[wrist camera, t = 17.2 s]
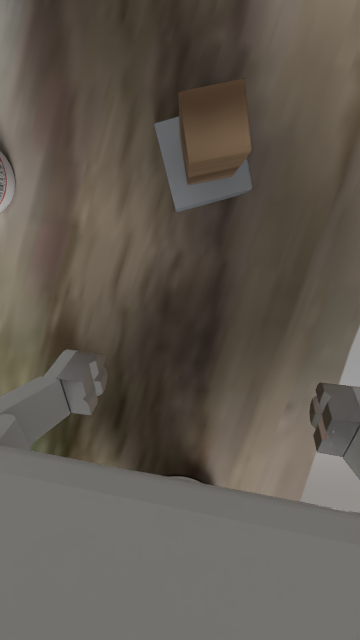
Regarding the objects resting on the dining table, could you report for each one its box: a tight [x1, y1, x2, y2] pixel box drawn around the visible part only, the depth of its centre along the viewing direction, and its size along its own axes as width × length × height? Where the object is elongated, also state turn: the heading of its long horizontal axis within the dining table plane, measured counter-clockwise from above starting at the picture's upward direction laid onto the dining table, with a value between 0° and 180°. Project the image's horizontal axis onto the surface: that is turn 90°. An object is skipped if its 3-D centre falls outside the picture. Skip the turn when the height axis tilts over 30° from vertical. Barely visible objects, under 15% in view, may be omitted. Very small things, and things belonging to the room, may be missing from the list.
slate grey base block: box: [154, 116, 252, 213], centre depth 35 cm, size 9×9×5 cm
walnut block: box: [179, 78, 252, 185], centre depth 28 cm, size 5×5×10 cm
